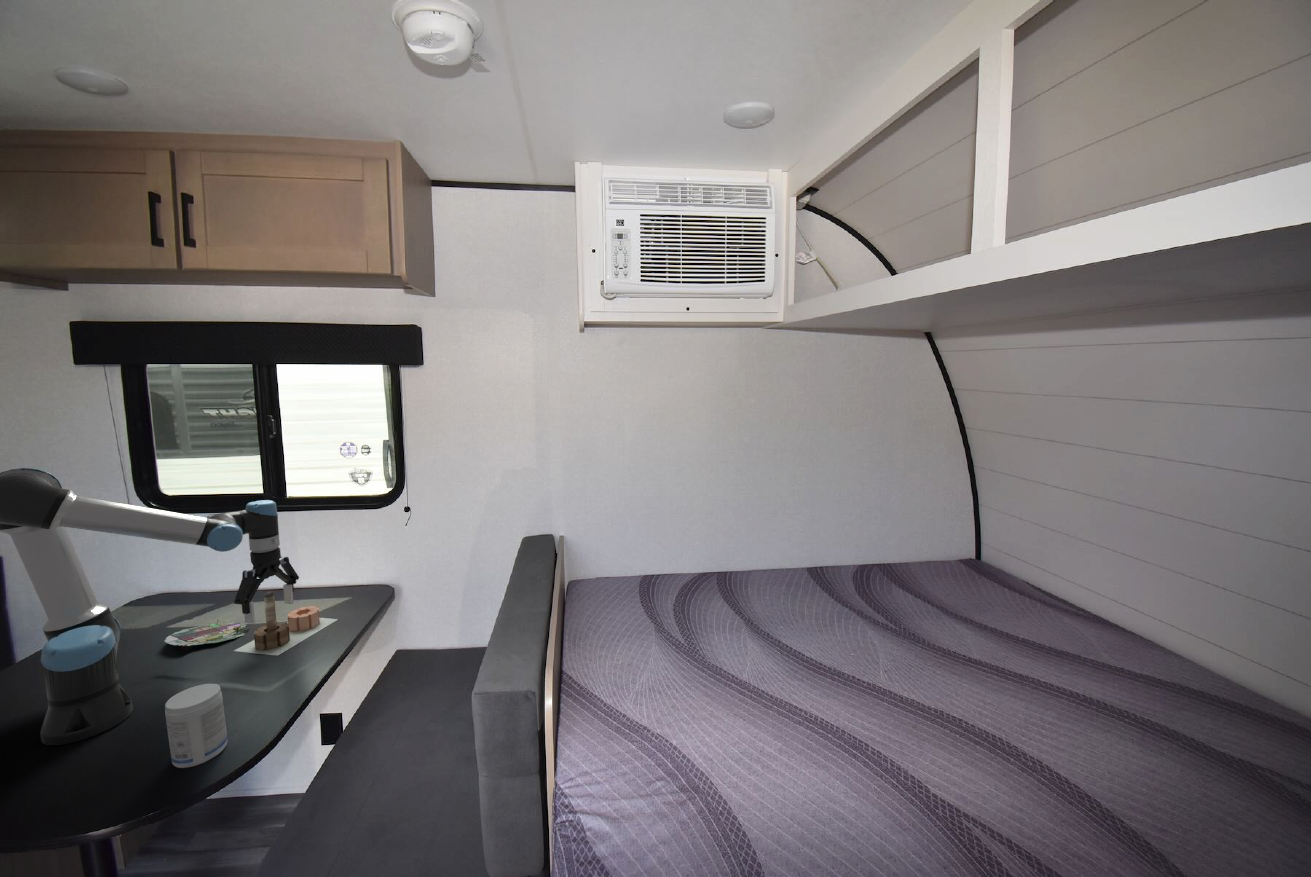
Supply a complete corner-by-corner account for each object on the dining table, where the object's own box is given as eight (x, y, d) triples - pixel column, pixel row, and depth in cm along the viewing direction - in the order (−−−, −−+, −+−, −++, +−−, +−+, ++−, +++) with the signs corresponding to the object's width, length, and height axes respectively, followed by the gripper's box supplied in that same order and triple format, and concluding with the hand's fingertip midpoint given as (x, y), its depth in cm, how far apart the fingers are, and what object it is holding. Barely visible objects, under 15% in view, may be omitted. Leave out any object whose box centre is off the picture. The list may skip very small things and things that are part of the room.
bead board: (277, 659, 152) (277, 655, 152) (233, 654, 155) (233, 650, 155) (338, 622, 176) (338, 619, 176) (299, 618, 178) (299, 615, 178)
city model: (278, 628, 176) (278, 611, 176) (213, 657, 152) (213, 637, 152) (215, 626, 178) (215, 609, 178) (141, 653, 155) (141, 634, 155)
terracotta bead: (304, 632, 166) (303, 618, 166) (282, 630, 167) (281, 616, 167) (325, 620, 175) (324, 607, 174) (304, 618, 176) (303, 605, 176)
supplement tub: (225, 733, 120) (219, 677, 118) (230, 753, 114) (224, 694, 112) (169, 755, 113) (163, 695, 111) (172, 777, 107) (165, 714, 105)
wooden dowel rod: (273, 645, 158) (268, 594, 156) (266, 644, 158) (261, 593, 157) (280, 641, 160) (275, 590, 159) (273, 640, 161) (269, 590, 159)
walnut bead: (272, 651, 154) (271, 636, 154) (248, 649, 156) (246, 634, 155) (296, 637, 163) (295, 623, 162) (273, 635, 164) (272, 621, 164)
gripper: (236, 563, 143) (242, 632, 145) (308, 537, 168) (313, 596, 170) (214, 562, 144) (221, 630, 147) (289, 536, 169) (294, 595, 171)
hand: (270, 612), depth 158 cm, fingers open, 13 cm apart
